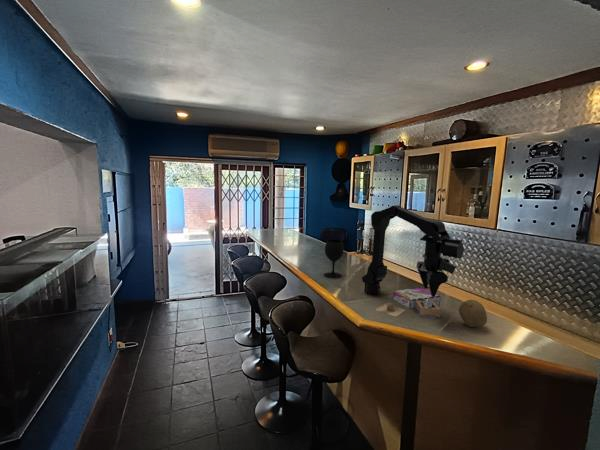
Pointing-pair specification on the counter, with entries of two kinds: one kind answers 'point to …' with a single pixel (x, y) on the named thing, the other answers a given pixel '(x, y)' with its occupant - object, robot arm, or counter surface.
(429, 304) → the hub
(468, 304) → the natural sponge
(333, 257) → the wine glass
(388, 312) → the stand
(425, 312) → the wooden square frame
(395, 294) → the candy bar box
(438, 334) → the counter surface
